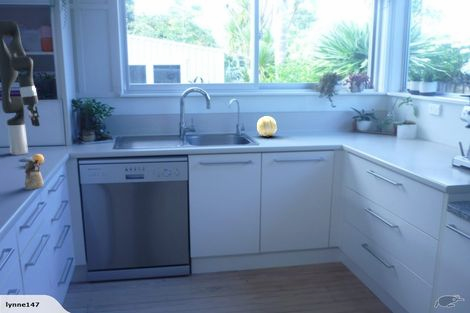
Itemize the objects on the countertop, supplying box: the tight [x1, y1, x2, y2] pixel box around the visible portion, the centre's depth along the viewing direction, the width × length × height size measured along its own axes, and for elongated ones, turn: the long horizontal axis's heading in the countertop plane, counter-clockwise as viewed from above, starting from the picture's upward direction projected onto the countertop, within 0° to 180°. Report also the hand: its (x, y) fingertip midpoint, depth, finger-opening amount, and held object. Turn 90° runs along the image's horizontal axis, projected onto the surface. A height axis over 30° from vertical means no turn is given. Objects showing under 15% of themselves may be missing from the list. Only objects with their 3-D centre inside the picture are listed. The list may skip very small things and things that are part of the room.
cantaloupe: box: [256, 115, 278, 138], centre depth 308 cm, size 15×15×15 cm
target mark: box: [19, 156, 33, 163], centre depth 235 cm, size 12×12×1 cm
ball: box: [32, 153, 45, 165], centre depth 222 cm, size 6×6×6 cm
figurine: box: [23, 159, 44, 190], centre depth 178 cm, size 7×7×12 cm
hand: (36, 125), depth 226 cm, fingers open, 8 cm apart
